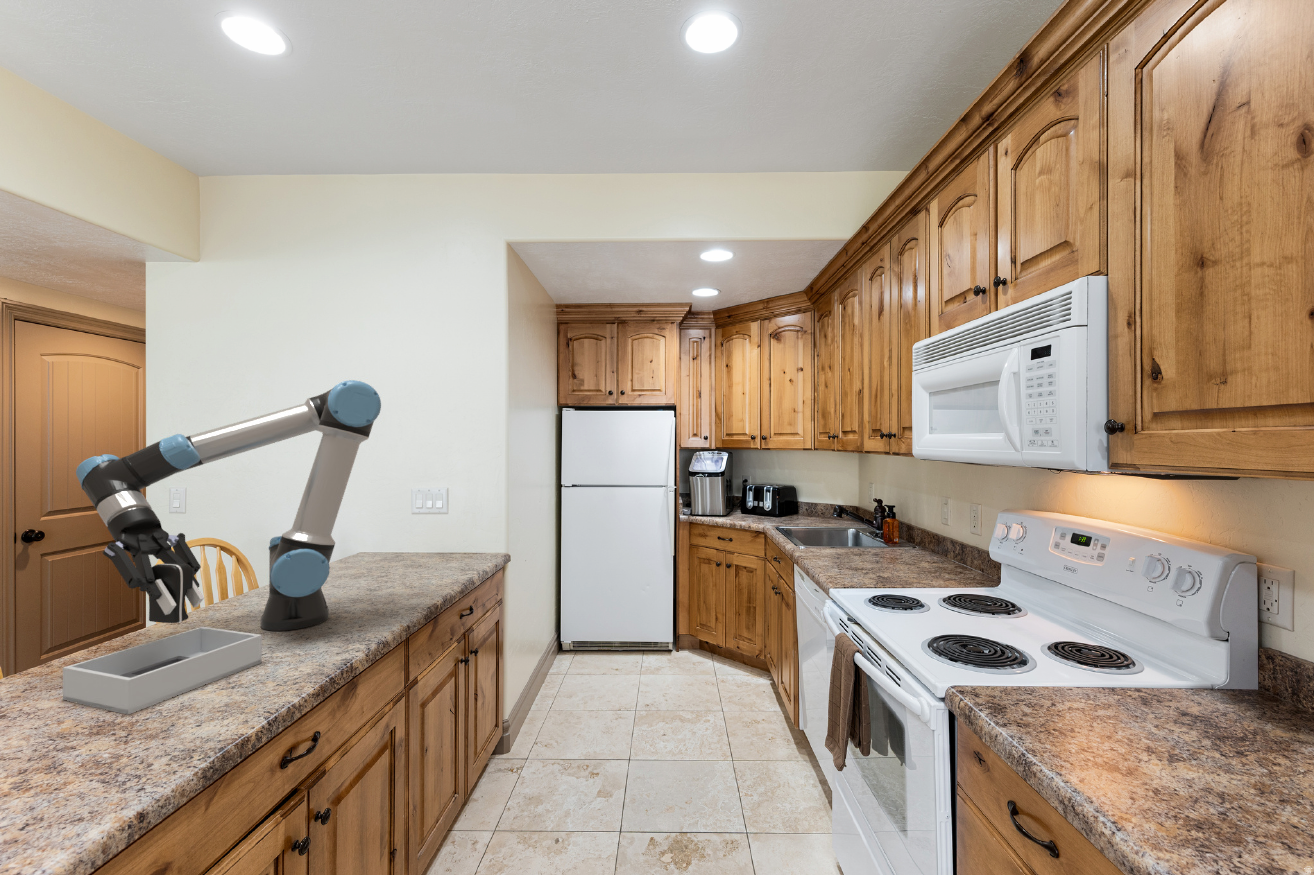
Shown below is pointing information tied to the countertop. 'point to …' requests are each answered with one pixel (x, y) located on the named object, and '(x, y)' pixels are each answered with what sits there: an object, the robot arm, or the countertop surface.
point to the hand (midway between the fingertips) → (185, 606)
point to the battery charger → (172, 591)
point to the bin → (160, 669)
